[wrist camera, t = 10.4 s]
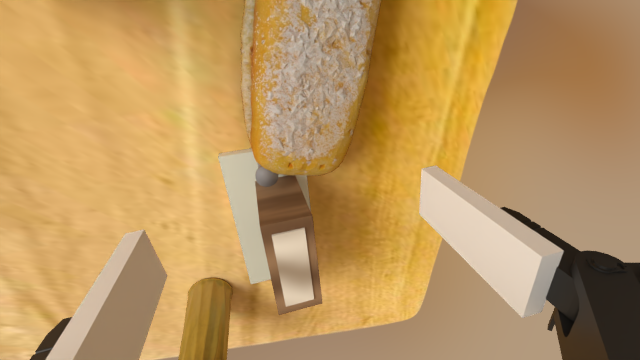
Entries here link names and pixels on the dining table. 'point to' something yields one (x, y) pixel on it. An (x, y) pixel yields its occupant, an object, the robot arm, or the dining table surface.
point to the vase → (207, 321)
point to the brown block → (289, 244)
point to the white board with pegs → (250, 205)
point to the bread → (304, 79)
